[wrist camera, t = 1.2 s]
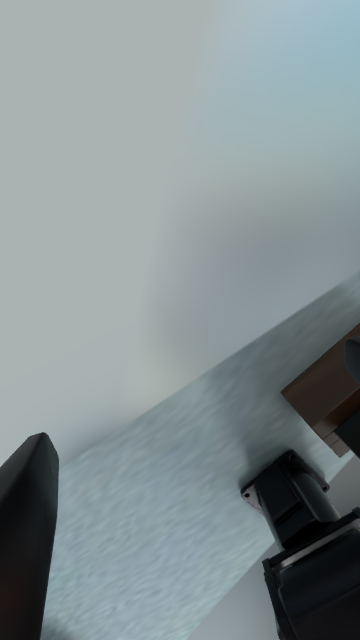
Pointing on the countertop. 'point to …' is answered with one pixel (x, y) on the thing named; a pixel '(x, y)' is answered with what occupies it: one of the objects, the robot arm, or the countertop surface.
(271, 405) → the countertop surface
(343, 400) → the knife block
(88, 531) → the countertop surface
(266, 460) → the countertop surface
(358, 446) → the black handle
